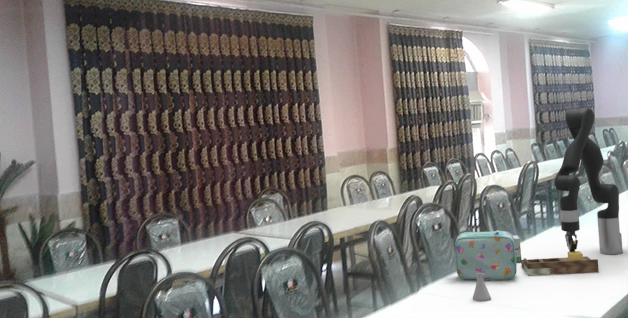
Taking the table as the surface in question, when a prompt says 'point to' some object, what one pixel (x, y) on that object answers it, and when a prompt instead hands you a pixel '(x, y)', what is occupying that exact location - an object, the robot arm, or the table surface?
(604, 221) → the robot arm
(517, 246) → the ink box
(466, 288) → the table surface
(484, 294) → the flask
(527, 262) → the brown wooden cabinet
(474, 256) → the lunch box
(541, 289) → the table surface
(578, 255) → the block
